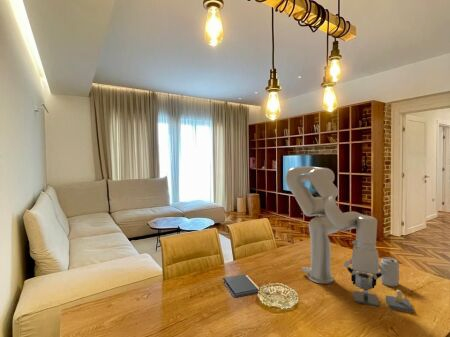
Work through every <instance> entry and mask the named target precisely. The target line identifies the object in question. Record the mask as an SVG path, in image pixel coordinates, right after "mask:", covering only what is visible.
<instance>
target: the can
mask: <svg viewBox="0 0 450 337" xmlns="http://www.w3.org/2000/svg"><path fill="white" fill-rule="evenodd" d="M380 266H381V267H382V268H383V269H384V270H385V271H386V273H385V274H383V275H382V276H381V277H379V279H380V281H381V283H382V284H383V285H384V286H387V287H393V288H394V287H397V286H398V285H399V283H400V278H399V277H400V263H399V262H398V259H395V258H393V257H387V256H384V257H382V258H381V260H380ZM379 270H380V269H379ZM380 271H381V270H380ZM380 271H379V272H380Z"/></svg>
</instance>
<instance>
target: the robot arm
mask: <svg viewBox="0 0 450 337" xmlns="http://www.w3.org/2000/svg"><path fill="white" fill-rule="evenodd" d="M334 181H335V173H334V171H333V170H332V169H330V168H328V167H319V166H295V167H291V168H290V169H289V170H287V172H286V174H285V182H286V183H285V184H286V186H287V187H288V190H289V191H290V192H291V193H292V195H293V196H294V198H295V200H296V202H297V204H298V205H299V207H300V210H301V211H302V213H303V214H304V215H305V216H306V217H313V218H312V219H310V221H309V222H308V231H309V237H310V267H305V266H302V267H301V271H302V272H303V273H304V274H307V278H308V279H309V280H310V281H311V282H314V283H315V284H316V283H317V284H321V285H328V284H332V283H334V281H335V277H334V276H333V274H332V270H331V268H332V266H331V265H332V264H331V260H332V258H331V256H332V255H331V254H332V253H331V251H332V249H331V248H332V246H331V240H330V238H329V235H331V234H336V233H338V232H339V231H343V232H345V231H349V230H353V229H356V233H355V240H352V241H351V243H352V244H353V247H352V252H351V253H352V254H351V258H350V259H349V260H347V261H345V262H344V263H343V266H344V267H345V269H346V270H347V271H348V272H349V273H350V274H351V275H350V276H351V277H350V281H351V282H352V284H353V285H355V273H356V272H364V273H367V274H369V275H371V276H372V277H373V286H372V289H375V287H376V286H377V280H378V279H380V277H381V276H382V275H383V274H385V273H386V271H385V270H384V269H383V268H382V267H381V264H380V263H379V250H378V249H377V234H378V233H377V232H378V231H377V230H378V219H377V218H376V217H374V216H373V215H372V216H370V215H365V214H362V213H360V212H357V211H352V210H351V211H347V212H343V211H342V210H341V209H340V208H339V207H338V204H337V202H336V201H337V200H336V197H337V196H338V195H339V193H340V191H339V189H338V187H337V186H336V185H335V184H334ZM307 182H310V184H311V185H312V187H313V188H314V189H315V190H316V192H317V193H318V195H319V196H313V194H312V193H311V191H310V189H309V188H308V187H307V186H306V185H305V184H303V183H307ZM349 265H351V266H349ZM379 270H381V271H379Z"/></svg>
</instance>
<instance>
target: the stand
mask: <svg viewBox="0 0 450 337" xmlns="http://www.w3.org/2000/svg"><path fill="white" fill-rule="evenodd" d="M362 290H363V291H358V290H353V299H354V303H355V304H360V305H366V306H371V307H375V308H380V303H379V302H380V301H379V299H378V296H377V294H376V293H369V290H365V289H362Z"/></svg>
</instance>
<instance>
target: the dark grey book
mask: <svg viewBox="0 0 450 337" xmlns="http://www.w3.org/2000/svg"><path fill="white" fill-rule="evenodd" d="M221 278H222V280H224V281H225V282H226V283H223V285H224V284H225V285H226V286H225V285H224V286H225V287H226V289H227V288H228V289H227V291H228V290H229V291H228V292H229V294H230V293H231V294H230V295H231V297H232V298H234V299H239V297H240V298H243V297H244V296H245V297H249V296H254V295H258V294H257V293H258V291H259V288H260V287H259V285H258V284H256V282H254V280H253V279H251V277H250V276H249V275H248V274H240V275H239V274H238V275H232V276H227V277H226V276H225V277H221ZM222 280H221V281H222ZM245 297H244V298H245Z"/></svg>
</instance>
